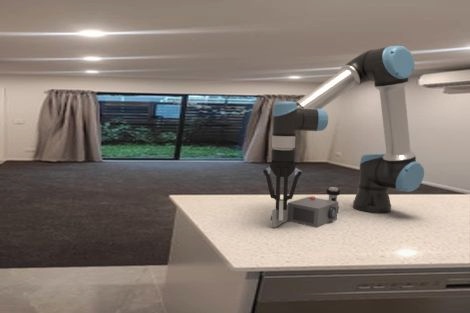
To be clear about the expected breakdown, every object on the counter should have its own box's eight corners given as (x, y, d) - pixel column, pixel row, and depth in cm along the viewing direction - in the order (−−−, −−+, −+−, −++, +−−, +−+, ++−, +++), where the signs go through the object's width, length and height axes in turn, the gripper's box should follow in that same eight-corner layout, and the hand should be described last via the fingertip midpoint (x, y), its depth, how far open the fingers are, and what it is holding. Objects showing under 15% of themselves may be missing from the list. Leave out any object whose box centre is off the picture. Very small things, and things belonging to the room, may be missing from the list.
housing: (308, 213, 156) (309, 194, 155) (340, 219, 147) (341, 200, 147) (286, 220, 143) (287, 200, 142) (320, 228, 135) (321, 207, 134)
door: (288, 220, 142) (289, 204, 142) (274, 227, 132) (275, 210, 132) (283, 219, 143) (284, 203, 142) (270, 226, 133) (271, 209, 132)
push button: (329, 215, 154) (331, 189, 152) (319, 212, 158) (321, 187, 157) (341, 213, 157) (343, 188, 156) (331, 210, 162) (333, 186, 160)
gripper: (303, 148, 134) (300, 217, 136) (265, 147, 136) (263, 215, 138) (302, 150, 126) (299, 223, 129) (262, 149, 129) (260, 220, 131)
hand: (280, 219), depth 134 cm, fingers closed
